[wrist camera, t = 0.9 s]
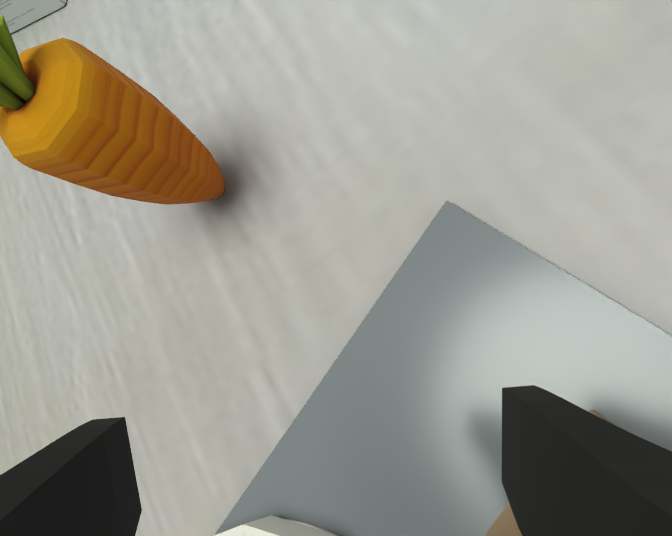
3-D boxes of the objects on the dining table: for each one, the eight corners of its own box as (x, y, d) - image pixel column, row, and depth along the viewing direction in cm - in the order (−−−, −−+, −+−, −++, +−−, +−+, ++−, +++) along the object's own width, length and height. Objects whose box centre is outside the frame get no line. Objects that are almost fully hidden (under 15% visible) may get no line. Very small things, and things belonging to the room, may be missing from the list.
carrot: (196, 253, 30) (-140, 140, 17) (176, 174, 32) (-141, 18, 19) (272, 208, 28) (-34, 45, 15) (247, 128, 30) (-47, -78, 17)
